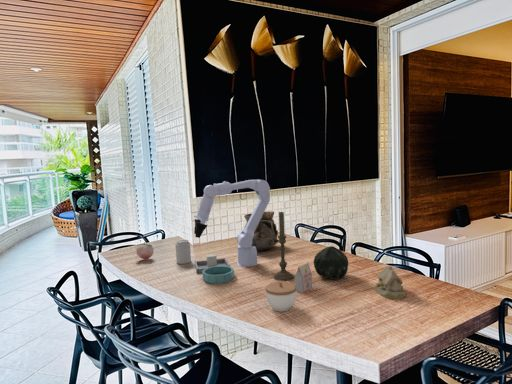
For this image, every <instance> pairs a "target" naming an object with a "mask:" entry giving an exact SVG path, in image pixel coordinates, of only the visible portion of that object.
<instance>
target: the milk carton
mask: <svg viewBox="0 0 512 384" xmlns="http://www.w3.org/2000/svg"><path fill="white" fill-rule="evenodd" d="M309 264H310V263H308V262H307V263H305V264H303V265H300V266H298V267H297V270H296V273H295V275H294V285H295V286H296V293H301V294H304V293H306V292H307V291H309V290H311V289H313V273H312V270H311V268H310V265H309Z"/></svg>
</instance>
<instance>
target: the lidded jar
mask: <svg viewBox="0 0 512 384" xmlns="http://www.w3.org/2000/svg"><path fill="white" fill-rule="evenodd" d="M265 293H266V295H265V296H266V299H267V300H266V301H267V303H268V304H269V306H270V307H271V308H272V309H273V310H274V311H275V312H287V311H289V310H290V309H291V308H292V307H293V306H294V304H295V302H296V298H297V297H296V296H297V291H296V286H295V283H291V282H288V281H275V282H274V281H273V282H270V283H267V285H265Z"/></svg>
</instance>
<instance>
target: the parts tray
mask: <svg viewBox="0 0 512 384" xmlns="http://www.w3.org/2000/svg"><path fill="white" fill-rule="evenodd" d="M217 266H229V267H231V265H230V263H229V262H228V260H227V259H226V257H224V258H217ZM194 267H195V271H196V274H202V271H203V270H204V269H206V268H207V259H205V260H195V261H194ZM208 268H209V267H208Z"/></svg>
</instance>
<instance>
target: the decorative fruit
mask: <svg viewBox="0 0 512 384" xmlns="http://www.w3.org/2000/svg"><path fill="white" fill-rule="evenodd" d="M136 247H137V248H136V250H135V252H136V254H137V256H138V257H139V258H140V259H142V260H145V259H147V260H148V259H150V258H151V257H152V256H153V254H154V247H153V245H152V244H151V243H146V241H144V243H140V244H138V245H137V246H136Z"/></svg>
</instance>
